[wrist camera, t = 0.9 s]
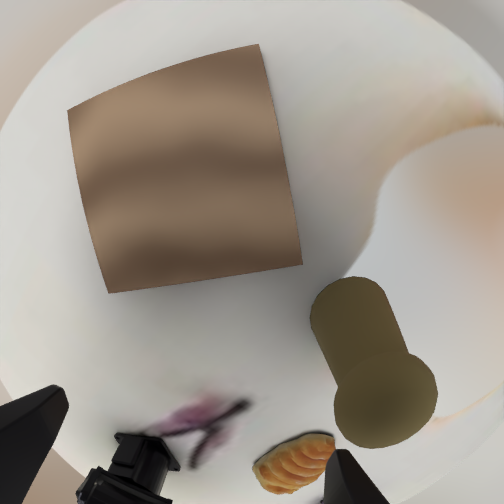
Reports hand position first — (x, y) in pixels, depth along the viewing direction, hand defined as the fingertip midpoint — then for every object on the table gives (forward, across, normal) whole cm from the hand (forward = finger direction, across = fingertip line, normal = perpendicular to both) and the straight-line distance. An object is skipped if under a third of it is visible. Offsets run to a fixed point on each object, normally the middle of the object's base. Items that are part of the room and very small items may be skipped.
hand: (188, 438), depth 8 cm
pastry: (+14, -8, +20) cm, 25 cm away
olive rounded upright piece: (+14, -8, +2) cm, 16 cm away
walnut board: (+14, +5, -6) cm, 16 cm away
